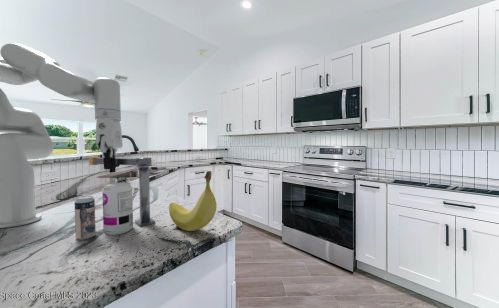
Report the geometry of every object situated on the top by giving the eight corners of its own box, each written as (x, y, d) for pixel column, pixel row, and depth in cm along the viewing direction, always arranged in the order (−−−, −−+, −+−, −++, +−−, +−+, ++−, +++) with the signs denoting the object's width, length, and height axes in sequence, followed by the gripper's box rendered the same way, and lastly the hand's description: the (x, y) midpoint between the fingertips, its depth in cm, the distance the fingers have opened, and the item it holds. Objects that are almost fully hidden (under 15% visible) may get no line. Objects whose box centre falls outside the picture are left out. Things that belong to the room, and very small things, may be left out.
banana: (163, 224, 77) (162, 167, 76) (178, 220, 81) (177, 165, 80) (205, 243, 62) (205, 172, 61) (221, 236, 67) (220, 170, 66)
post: (135, 223, 78) (134, 167, 77) (149, 219, 82) (148, 166, 81) (140, 226, 74) (139, 168, 74) (155, 223, 78) (154, 167, 77)
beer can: (85, 241, 63) (83, 199, 63) (71, 239, 64) (70, 198, 64) (99, 234, 68) (98, 195, 67) (86, 233, 69) (85, 195, 68)
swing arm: (154, 166, 79) (154, 157, 79) (144, 167, 74) (144, 157, 74) (96, 164, 86) (96, 156, 86) (84, 165, 82) (84, 156, 82)
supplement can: (102, 237, 66) (100, 187, 65) (105, 228, 73) (104, 183, 73) (133, 232, 70) (132, 185, 69) (133, 224, 77) (132, 181, 76)
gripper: (111, 113, 70) (112, 171, 70) (127, 118, 84) (129, 166, 85) (84, 112, 68) (86, 171, 69) (105, 118, 83) (107, 167, 84)
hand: (109, 168), depth 77 cm, fingers closed
